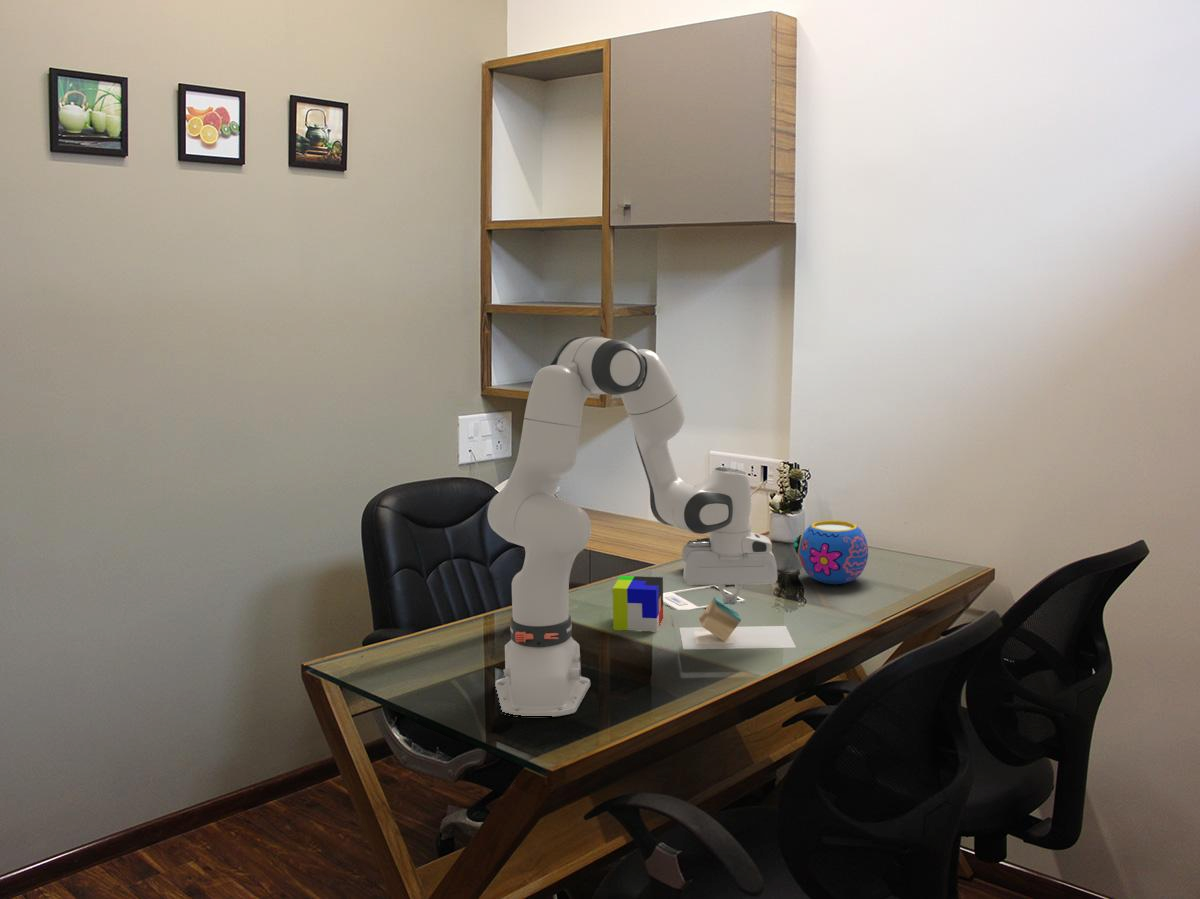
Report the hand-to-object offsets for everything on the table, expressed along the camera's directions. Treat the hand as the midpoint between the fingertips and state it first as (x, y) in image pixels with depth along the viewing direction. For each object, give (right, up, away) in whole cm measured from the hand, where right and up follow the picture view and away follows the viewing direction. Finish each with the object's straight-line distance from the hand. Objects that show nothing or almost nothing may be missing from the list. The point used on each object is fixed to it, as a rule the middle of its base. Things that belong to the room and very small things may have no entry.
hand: (730, 603), depth 240 cm
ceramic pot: (+32, -1, +45) cm, 55 cm away
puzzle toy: (-19, -7, +15) cm, 25 cm away
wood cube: (0, -1, 0) cm, 1 cm away
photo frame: (-4, -4, +32) cm, 33 cm away
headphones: (+2, 0, +52) cm, 52 cm away
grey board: (+1, -9, +2) cm, 9 cm away
